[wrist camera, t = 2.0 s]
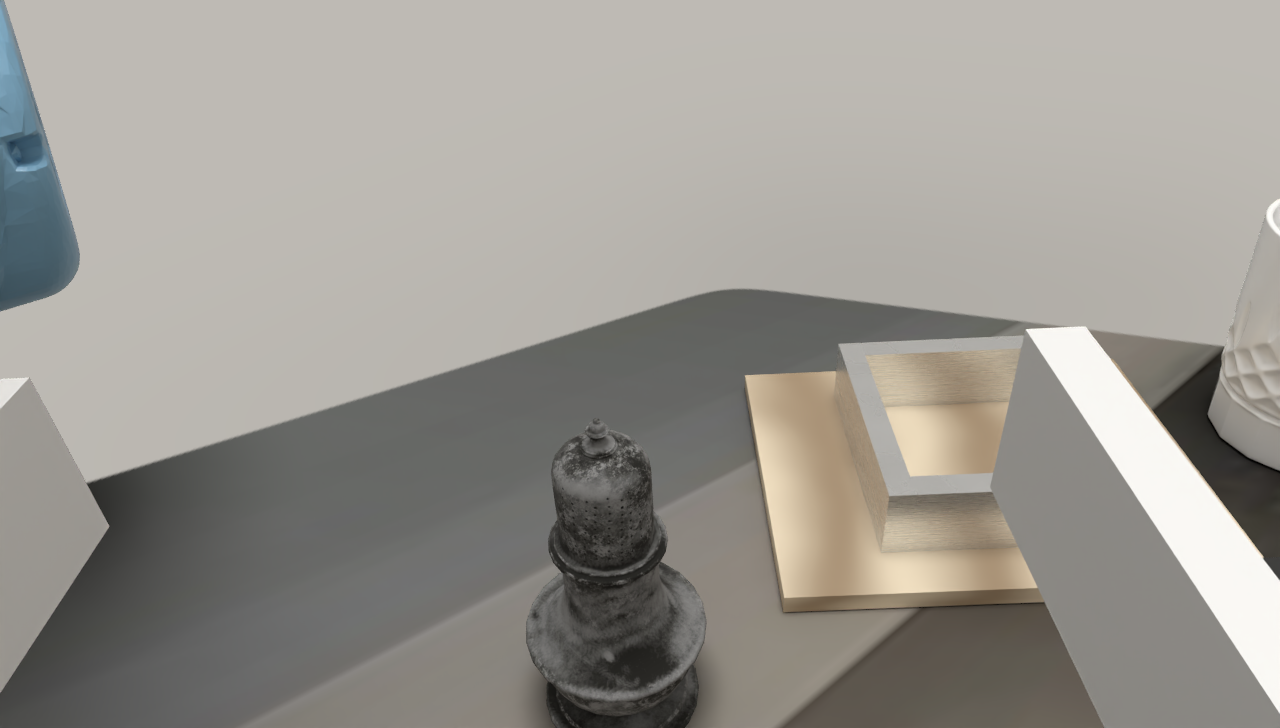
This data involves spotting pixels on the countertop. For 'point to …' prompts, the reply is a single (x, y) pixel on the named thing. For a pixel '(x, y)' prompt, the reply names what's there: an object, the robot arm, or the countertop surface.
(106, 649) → the countertop surface
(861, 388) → the collar
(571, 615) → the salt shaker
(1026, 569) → the flange board
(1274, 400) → the white cup
